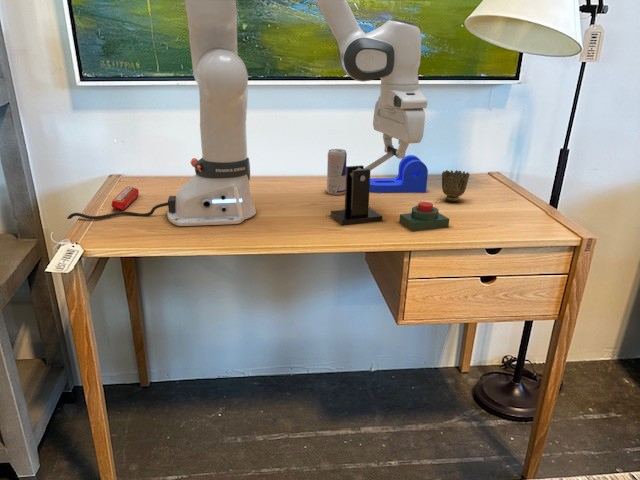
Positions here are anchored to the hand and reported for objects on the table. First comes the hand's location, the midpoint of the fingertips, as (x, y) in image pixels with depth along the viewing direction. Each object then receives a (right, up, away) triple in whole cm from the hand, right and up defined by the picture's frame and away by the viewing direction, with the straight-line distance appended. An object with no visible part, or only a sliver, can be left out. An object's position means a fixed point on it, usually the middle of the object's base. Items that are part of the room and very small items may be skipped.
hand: (394, 155), depth 145 cm
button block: (+7, -17, 0) cm, 19 cm away
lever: (-4, -3, 0) cm, 5 cm away
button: (+7, -14, -1) cm, 16 cm away
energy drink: (-14, -4, +25) cm, 29 cm away
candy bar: (-71, -9, +13) cm, 73 cm away
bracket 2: (+3, -2, +30) cm, 30 cm away
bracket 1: (-9, -15, +4) cm, 18 cm away
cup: (+19, -8, +19) cm, 28 cm away
